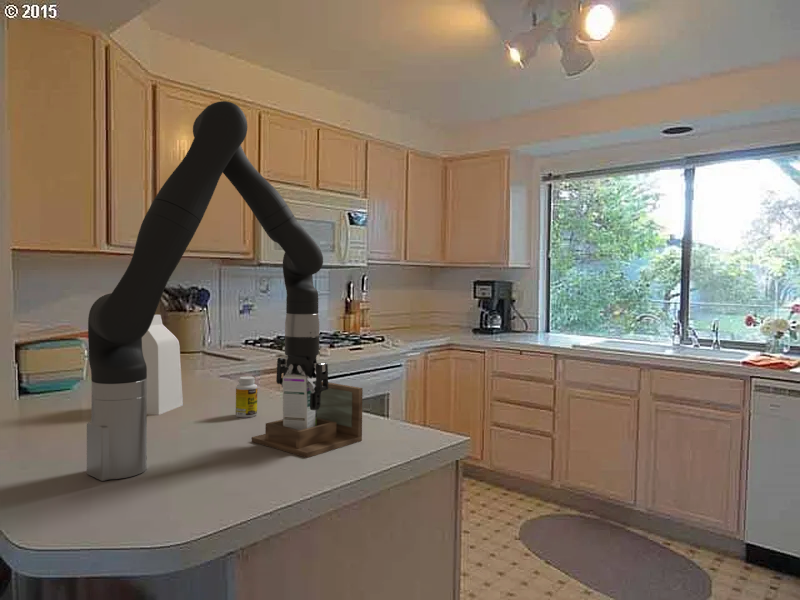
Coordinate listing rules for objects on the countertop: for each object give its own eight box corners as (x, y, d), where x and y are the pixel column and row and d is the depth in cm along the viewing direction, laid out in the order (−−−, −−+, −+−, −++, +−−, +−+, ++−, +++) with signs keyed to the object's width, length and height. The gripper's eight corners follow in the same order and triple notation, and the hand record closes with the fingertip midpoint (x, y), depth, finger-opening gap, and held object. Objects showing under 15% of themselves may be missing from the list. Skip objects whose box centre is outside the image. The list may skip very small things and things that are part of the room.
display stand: (307, 457, 117) (307, 399, 116) (251, 441, 128) (252, 388, 127) (361, 440, 130) (362, 388, 130) (307, 427, 141) (307, 378, 141)
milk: (158, 414, 152) (159, 316, 151) (119, 412, 154) (119, 315, 153) (182, 405, 164) (183, 314, 163) (145, 403, 165) (146, 313, 165)
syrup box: (306, 443, 124) (307, 376, 123) (281, 440, 125) (282, 374, 125) (317, 436, 129) (317, 372, 129) (292, 434, 131) (293, 370, 130)
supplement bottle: (248, 419, 148) (248, 379, 148) (231, 416, 151) (231, 378, 150) (261, 414, 154) (261, 376, 153) (244, 412, 156) (245, 375, 155)
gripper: (267, 332, 128) (267, 404, 129) (312, 337, 119) (311, 414, 120) (293, 330, 134) (292, 399, 134) (337, 335, 125) (336, 408, 126)
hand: (301, 406), depth 127 cm, fingers open, 8 cm apart
